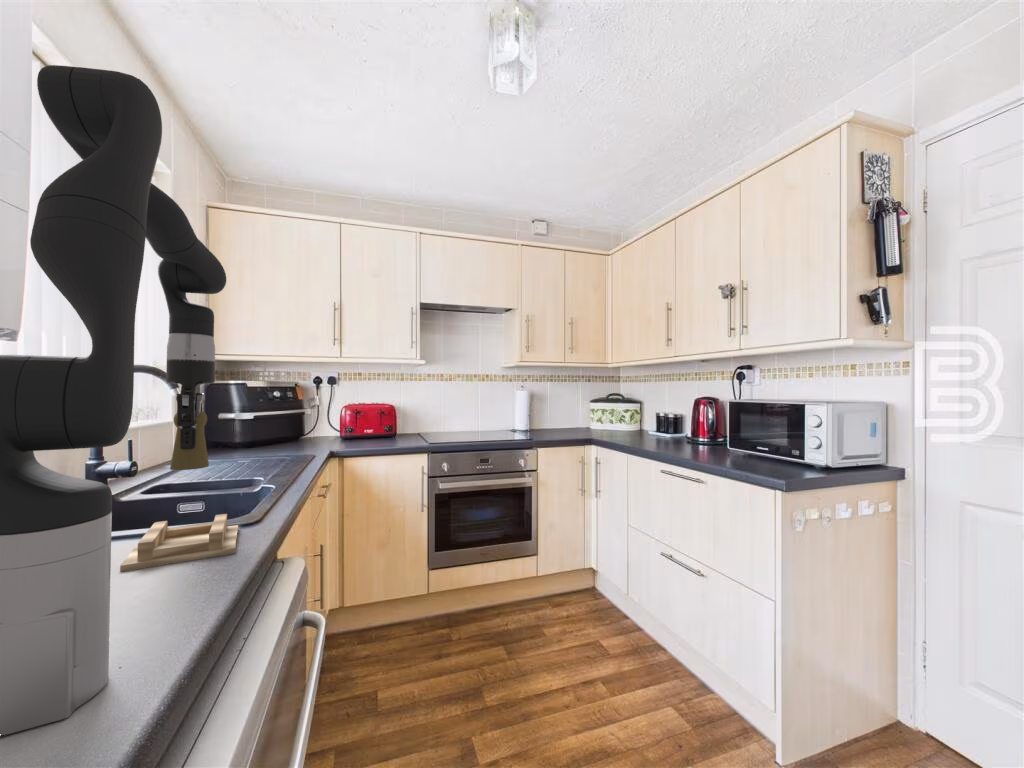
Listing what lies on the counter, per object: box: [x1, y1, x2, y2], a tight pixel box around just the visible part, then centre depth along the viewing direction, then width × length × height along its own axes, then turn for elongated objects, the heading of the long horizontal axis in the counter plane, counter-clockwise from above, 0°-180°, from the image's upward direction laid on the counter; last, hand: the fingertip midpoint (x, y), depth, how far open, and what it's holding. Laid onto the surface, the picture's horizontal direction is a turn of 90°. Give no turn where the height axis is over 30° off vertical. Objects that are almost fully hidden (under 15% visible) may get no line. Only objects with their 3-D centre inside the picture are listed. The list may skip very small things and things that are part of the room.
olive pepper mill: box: [169, 410, 210, 471], centre depth 83 cm, size 6×6×11 cm
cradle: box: [119, 513, 239, 573], centre depth 82 cm, size 16×16×4 cm
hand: (190, 447), depth 83 cm, fingers closed on olive pepper mill, 4 cm apart
